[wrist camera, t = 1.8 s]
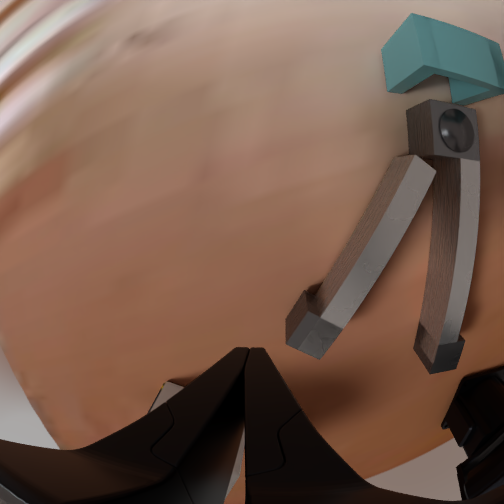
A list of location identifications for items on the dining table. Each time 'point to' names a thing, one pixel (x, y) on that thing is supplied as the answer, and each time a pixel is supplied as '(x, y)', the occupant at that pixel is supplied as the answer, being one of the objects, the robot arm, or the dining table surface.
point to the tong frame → (447, 225)
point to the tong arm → (360, 258)
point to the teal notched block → (443, 59)
